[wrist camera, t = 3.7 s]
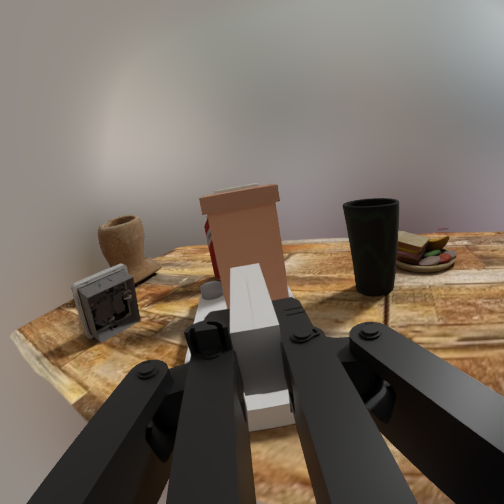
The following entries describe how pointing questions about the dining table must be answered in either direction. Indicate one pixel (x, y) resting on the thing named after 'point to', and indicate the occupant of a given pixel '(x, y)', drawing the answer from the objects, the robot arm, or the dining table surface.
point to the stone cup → (126, 246)
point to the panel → (258, 406)
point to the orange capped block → (247, 235)
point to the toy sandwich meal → (423, 253)
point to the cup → (373, 243)
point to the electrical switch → (106, 302)
